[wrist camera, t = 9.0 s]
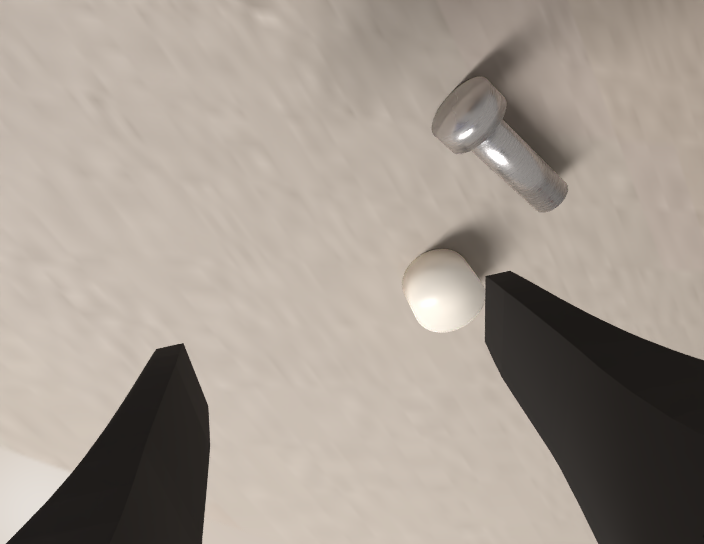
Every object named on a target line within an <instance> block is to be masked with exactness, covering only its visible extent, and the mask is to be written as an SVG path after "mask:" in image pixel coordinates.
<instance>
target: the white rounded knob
mask: <svg viewBox="0 0 704 544" xmlns="http://www.w3.org/2000/svg"><path fill="white" fill-rule="evenodd" d="M402 289H403V292H404V295H405V297H406V299H407V301H408V303H409V305H410V307H411V309H412V311H413V313H414V315H415V317H416V319H417V321H418V322H419V323H420V325H421V326H423V327H424V328H426V329H428V330H430V331H434V332H450V331H454V330H457V329H459V328H462V327H463V326H465V325H467V324H468V323H470V322H471V321H472V320H473V319H474V318H475V317H476V316H477V315H478V313H479V312H480V310H481V309H482V307H483V304H484V301H485V289H484V286H483V284H482V282H481V281H480V279H479V278H478V277H477V275H476V274H475V272H474V271H473V270H472V268H471V267H470V266H469V264H468V263H467V262H466V260H465V259H464V258H463V257H462V256H461V255H460V254H459V253H457V252H455V251H453V250H449V249H436V250H431V251H428V252H426V253H424V254H422V255H420V256H419V257H417V258H416V259H415V260H414V261H413V262H412V263H411V264H410V265H409V266H408V268H407V269H406V271H405V273H404V276H403V280H402Z"/></svg>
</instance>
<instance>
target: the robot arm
mask: <svg viewBox="0 0 704 544" xmlns="http://www.w3.org/2000/svg"><path fill="white" fill-rule="evenodd" d="M485 343H486V345H487V347H488V349H489V351H490V354H491V356H492V358H493V360H494V362H495V364H496V366H497V368H498V370H499V372H500V374H501V376H502V378H503V380H504V381H505V383H506V384H507V386H508V387H509V389H510V391H511V392H512V394H513V395H514V397H515V398H516V400H517V401H518V403H519V404H520V406H521V407H522V409H523V411H524V412H525V414H526V415H527V417H528V418H529V420H530V421H531V423H532V424H533V426H534V427H535V429H536V430H537V432H538V433H539V435H540V436H541V438H542V439H543V441H544V442H545V444H546V445H547V447H548V449H549V450H550V452H551V453H552V455H553V457H554V458H555V460H556V462H557V463H558V465H559V467H560V469H561V470H562V472H563V474H564V476H565V478H566V480H567V482H568V484H569V486H570V488H571V490H572V492H573V494H574V496H575V498H576V499H577V501H578V503H579V505H580V507H581V509H582V511H583V513H584V515H585V517H586V520H587V522H588V524H589V526H590V528H591V530H592V532H593V534H594V536H595V538H596V540H597V542H598V544H704V360H701V359H698V358H694V357H691V356H688V355H685V354H683V353H680V352H677V351H674V350H671V349H669V348H666V347H663V346H661V345H658V344H656V343H653V342H650V341H648V340H645V339H643V338H640V337H638V336H636V335H633V334H631V333H629V332H626V331H624V330H622V329H620V328H618V327H615V326H613V325H611V324H609V323H607V322H605V321H603V320H601V319H599V318H597V317H595V316H593V315H591V314H589V313H587V312H585V311H583V310H581V309H579V308H577V307H575V306H573V305H571V304H569V303H568V302H566V301H564V300H562V299H560V298H558V297H557V296H555V295H553V294H551V293H549V292H548V291H546V290H544V289H542V288H541V287H539V286H537V285H535V284H533V283H532V282H530V281H528V280H526V279H524V278H523V277H521V276H519V275H517V274H515V273H513V272H511V271H507V272H502V273H498V274H493V275H489V276H486V288H485ZM209 453H210V432H209V412H208V404H207V402H206V399H205V397H204V394H203V392H202V389H201V387H200V384H199V382H198V379H197V377H196V374H195V371H194V369H193V366H192V364H191V361H190V359H189V356H188V354H187V351H186V349H185V346H184V344H183V343H182V344H177V345H173V346H168V347H164V348H159V349H156V351H155V352H154V353H153V355H152V356H151V358H150V360H149V361H148V363H147V364H146V366H145V368H144V369H143V371H142V373H141V374H140V376H139V377H138V379H137V381H136V382H135V384H134V385H133V387H132V389H131V390H130V392H129V393H128V395H127V397H126V398H125V400H124V401H123V403H122V404H121V406H120V407H119V409H118V410H117V412H116V413H115V415H114V416H113V418H112V419H111V421H110V422H109V424H108V425H107V427H106V428H105V430H104V431H103V432H102V434H101V435H100V436H99V438H98V439H97V441H96V442H95V443H94V445H93V446H92V447H91V449H90V450H89V451H88V453H87V454H86V456H85V457H84V458H83V460H82V461H81V462H80V463H79V465H78V466H77V467H76V468H75V470H74V471H73V472H72V473H71V474H70V476H69V477H68V478H67V479H66V480H65V481H64V483H63V484H62V485H61V486H60V487H59V489H57V491H56V492H55V493H54V494H53V495H52V496H51V498H50V499H49V500H48V501H47V502H46V503H45V504H44V505H43V506H42V507H41V508H40V509H39V510H38V511H37V512H36V514H34V515H33V516H32V517H31V519H30V520H29V521H28V522H27V523H26V524H25V525H24V526H23V527H22V528H21V529H20V530H19V531H18V532H17V533H16V534H15V535H14V536H13V537H12V538H11V539H10V540H9V541H8V542H7V543H6V544H202V535H203V523H204V512H205V501H206V490H207V478H208V466H209Z"/></svg>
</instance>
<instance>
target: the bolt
mask: <svg viewBox="0 0 704 544" xmlns="http://www.w3.org/2000/svg"><path fill="white" fill-rule="evenodd" d="M506 106H507V103H506V99H505V97H504V96H503V95H502V94H501V93H500V92H499V91H498V90H497V89H496V88H495V87H494V86H493V85H492V84H491V83H490V82H489V81H488V80H487V79H486V78H485V77H481V76H480V77H474V78H472V79H470V80H468V81H466V82H464V83H463V84H461V85H460V86H459V87H457V88H456V89H455V90H454V91H453V92H452V93H451V94H450V95H449V96H448V97H447V98H446V99H445V101H444V102H443V103H442V105H441V106H440V108H439V109H438V111H437V113H436V115H435V117H434V119H433V123H432V133H433V135H434V136H435V137H436V138H438V139H439V140H440V141H441V142H442V143H443V144H444V145H445V146H446V147H448V148H449V149H450V150H451V151H452V152H453V153H456V154H462V153H466V152H469V151H472V152H473V153H475V154H476V155H477V156H478V157H479V158H480V159H481V160H482V161H483V162H484V163H485V164H486V165H488V166H489V167H490V168H491V169H492V170H493V171H494V172H495V173H496V174H497V175H498V176H500V177H501V178H502V179H503V180H504V181H505V182H506V183H507V184H508V185H509V186H510V187H511V188H513V189H514V190H515V191H516V192H517V193H518V194H519V195H520V196H521V197H522V198H523V199H525V200H526V201H527V202H528V203H529V204H530V205H531V206H532V207H533V208H534V209H535V210H537V211H538V212H548V211H551V210H553V209H554V208H556V207H557V206H559V205H560V204H561V203H562V201H563V200H564V199H565V197H566V195H567V192H568V185H567V183H566V182H565V181H564V180H563V179H562V178H561V177H560V176H559V175H558V174H557V173H556V172H555V171H554V170H553V169H552V168H551V167H550V166H549V165H548V164H547V163H546V162H545V161H544V160H543V159H542V158H541V157H540V156H539V155H538V154H537V153H536V152H535V151H534V150H533V149H532V148H531V147H530V146H529V145H528V144H527V143H526V142H525V141H524V140H523V139H522V138H521V137H520V136H519V135H518V134H517V133H516V132H515V131H514V130H513V129H512V128H511V127H510V126H509V125H508V124H507V123H506V122H505V121H504V120H503V117H504V114H505V111H506Z"/></svg>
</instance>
